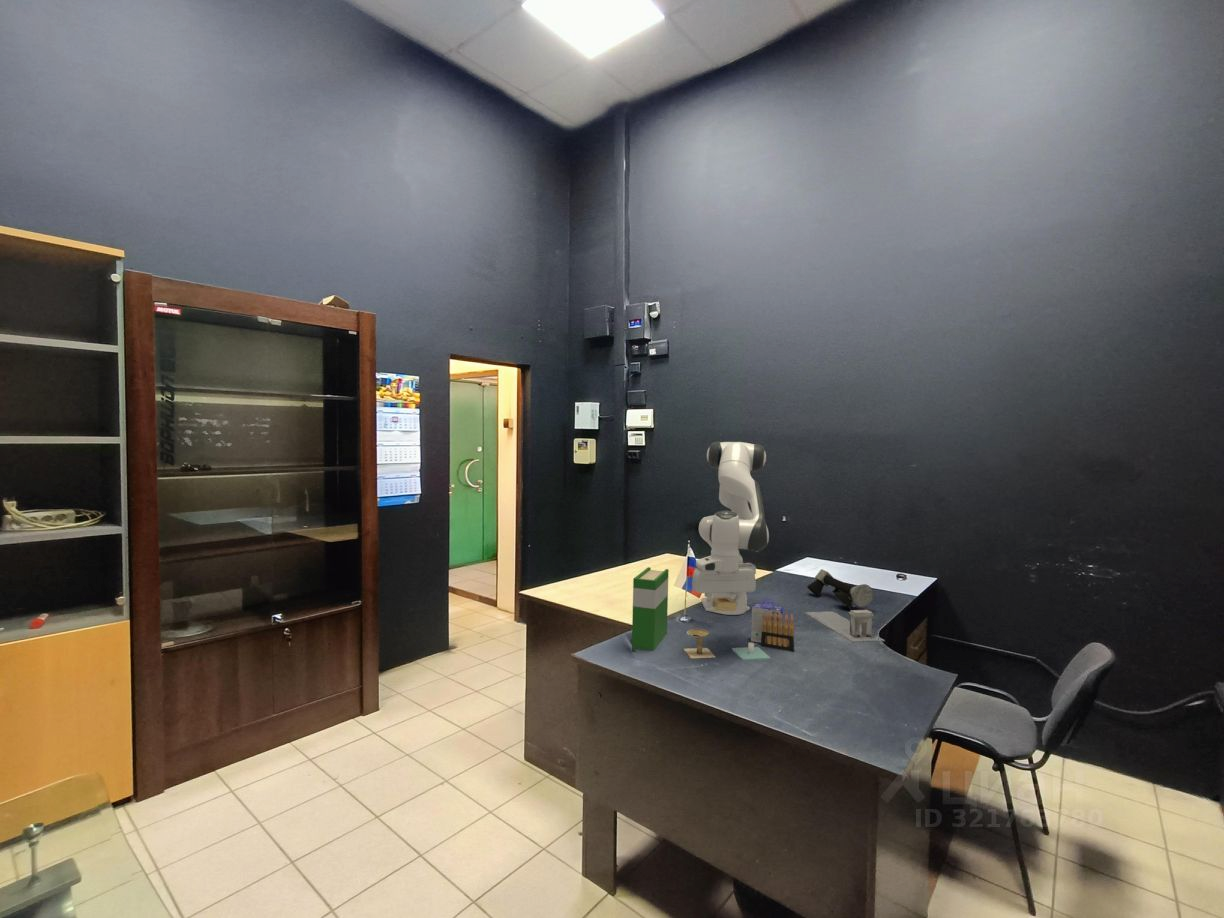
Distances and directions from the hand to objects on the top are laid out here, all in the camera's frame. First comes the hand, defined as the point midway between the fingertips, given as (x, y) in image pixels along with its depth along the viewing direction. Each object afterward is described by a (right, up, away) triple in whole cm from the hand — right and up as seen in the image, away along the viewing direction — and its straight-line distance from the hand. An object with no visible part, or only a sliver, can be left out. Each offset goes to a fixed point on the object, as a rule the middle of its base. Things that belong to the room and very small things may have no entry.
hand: (723, 606), depth 176 cm
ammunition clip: (+20, -17, +10) cm, 28 cm away
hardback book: (-23, -16, +11) cm, 30 cm away
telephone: (+64, -16, +66) cm, 93 cm away
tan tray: (0, -1, 0) cm, 0 cm away
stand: (-8, -17, 0) cm, 18 cm away
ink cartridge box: (+18, -17, +16) cm, 29 cm away
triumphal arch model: (+52, -17, +34) cm, 65 cm away
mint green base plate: (+9, -17, 0) cm, 19 cm away
